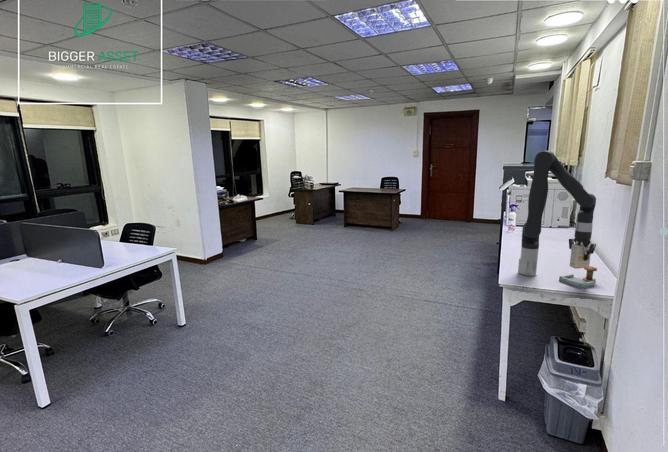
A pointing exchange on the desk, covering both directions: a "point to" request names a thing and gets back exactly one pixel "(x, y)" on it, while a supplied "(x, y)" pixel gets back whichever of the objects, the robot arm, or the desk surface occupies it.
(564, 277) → the tray
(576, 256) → the supplement box
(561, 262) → the desk surface
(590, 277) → the stool
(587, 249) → the robot arm
